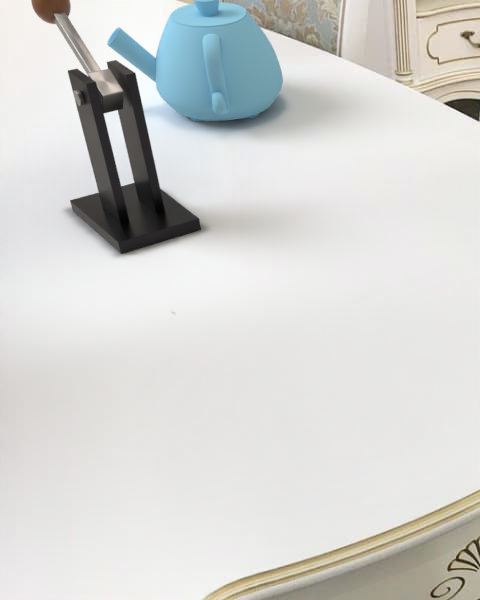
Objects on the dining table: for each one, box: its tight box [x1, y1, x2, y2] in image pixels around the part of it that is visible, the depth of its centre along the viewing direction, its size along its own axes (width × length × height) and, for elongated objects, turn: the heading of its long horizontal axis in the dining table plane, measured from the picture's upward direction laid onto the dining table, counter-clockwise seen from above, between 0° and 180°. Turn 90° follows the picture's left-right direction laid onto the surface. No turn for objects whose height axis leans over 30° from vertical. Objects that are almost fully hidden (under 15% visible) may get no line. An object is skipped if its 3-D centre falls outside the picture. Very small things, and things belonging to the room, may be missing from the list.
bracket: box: [67, 59, 202, 254], centre depth 112 cm, size 12×9×15 cm
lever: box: [30, 0, 123, 114], centre depth 108 cm, size 14×4×4 cm, turn 38°
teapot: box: [106, 0, 284, 123], centre depth 134 cm, size 20×20×13 cm
